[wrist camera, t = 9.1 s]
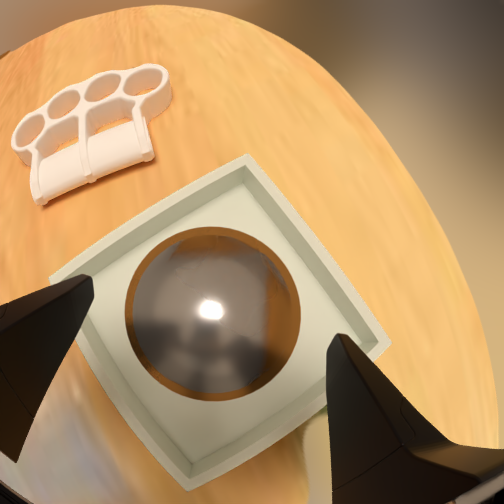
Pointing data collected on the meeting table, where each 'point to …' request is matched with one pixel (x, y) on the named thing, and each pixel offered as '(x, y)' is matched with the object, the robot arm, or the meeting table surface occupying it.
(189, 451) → the tray
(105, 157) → the white brass knuckles
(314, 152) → the meeting table surface
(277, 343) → the grey cylinder
